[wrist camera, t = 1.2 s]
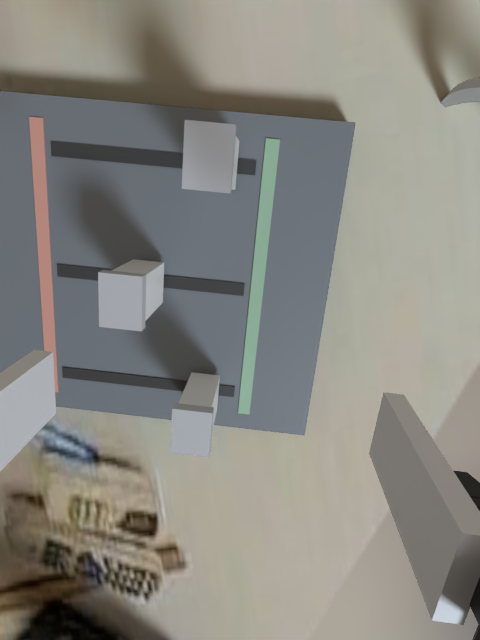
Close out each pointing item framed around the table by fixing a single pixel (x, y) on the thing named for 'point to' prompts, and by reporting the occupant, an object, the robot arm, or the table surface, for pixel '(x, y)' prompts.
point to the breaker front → (210, 156)
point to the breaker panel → (168, 254)
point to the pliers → (463, 93)
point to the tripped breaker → (130, 294)
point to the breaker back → (195, 416)
